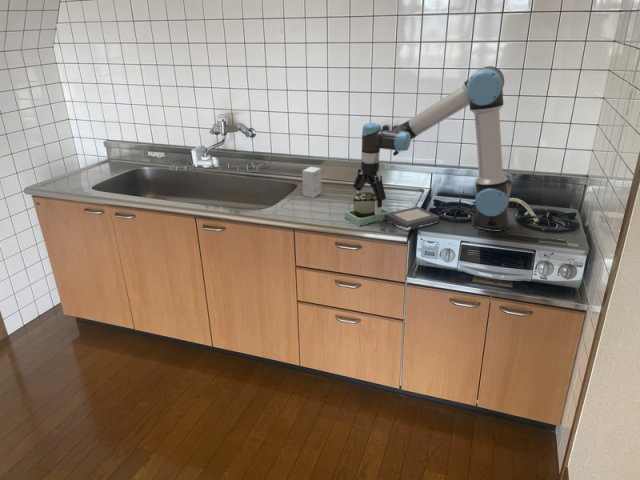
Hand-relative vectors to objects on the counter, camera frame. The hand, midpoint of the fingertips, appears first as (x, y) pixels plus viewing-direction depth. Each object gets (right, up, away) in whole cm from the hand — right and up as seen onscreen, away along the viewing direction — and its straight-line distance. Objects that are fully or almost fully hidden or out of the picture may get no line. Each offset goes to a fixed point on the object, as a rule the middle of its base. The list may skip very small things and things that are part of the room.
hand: (368, 209), depth 214 cm
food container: (-1, -2, +3) cm, 4 cm away
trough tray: (0, -4, +2) cm, 4 cm away
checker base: (+19, -6, -2) cm, 20 cm away
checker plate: (+19, -4, -3) cm, 19 cm away
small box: (-25, +9, +31) cm, 41 cm away
